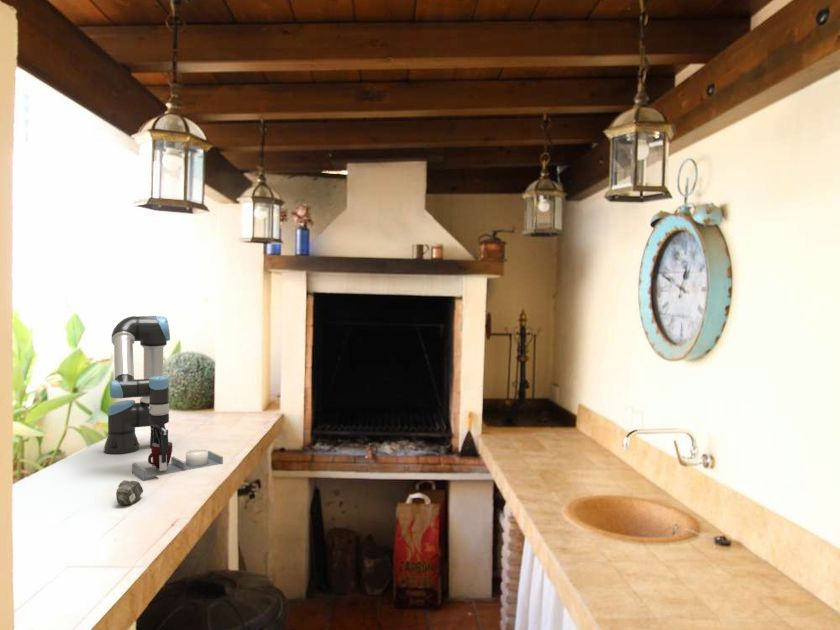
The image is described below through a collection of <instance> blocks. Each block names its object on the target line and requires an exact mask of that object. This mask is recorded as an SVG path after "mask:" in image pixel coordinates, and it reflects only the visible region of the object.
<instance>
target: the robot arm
mask: <svg viewBox="0 0 840 630" xmlns="http://www.w3.org/2000/svg"><path fill="white" fill-rule="evenodd" d="M170 340H171V333H170V326H169V321H168V318H167V317H165V316H160V315H159V316H158V315H149V316H148V315H147V316H145V315H143V316H141V315H140V316H139V315H137V316H134V315H133V316H128V317H125V318H124V319H122V320H121V321H119V322H118V323H117V324H116V325H115V327H113V330H112V333H111V343H112V344H113V346H114V348H113V350H114V351H113V353H114V355H113V358H114V380H110V382H109V397H110V398H111V399H126V400H120V401H115V402H113V403H110V404H109V406H108V408H107V424H108V425H107V438H106V440H105V443H104V446H103V452H104V453H105V454H109V455H123V454H129V453H133V452H136V451H138V450H140V443H139V440H138V437H137V435H136V428H144V427H150V437H149V438H150V439H149V449H151V447H152V444H153V443H156V444H159V448H160V454H159V471H163V470H167V454H169V444H168V442H169V429H166V424H168V423H169V422H170V415H169V414H170V394H169V393H170V392H169V391H170V382H169V377H168V376H164V347H166V346H167V344H168V343H167V342H170ZM135 342H140V344H139V345H140V346H141V347H142V349H143V378H141V379H135V371H134V346H133V345H134V343H135ZM130 398H140V399H139V402H136V400H134V399H130ZM151 462H152V463H153V458H151ZM151 467H155V465H154V464H151Z"/></svg>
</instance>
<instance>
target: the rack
mask: <svg viewBox="0 0 840 630" xmlns="http://www.w3.org/2000/svg"><path fill="white" fill-rule="evenodd" d="M207 451H208V464H206V465H203V466H187V465H186V460H185V461H183V460H181V459H179V458H177V457H176V456H171V458H170V462H171V463H169V464H168V466H167V470H163V471H159V469H157V468H156V466H154V467H152V466H150V467H146V468H145V467H143V466H141V465H139V464H137V463H136V462H132V463H131V464H132V465H131V466H132V471H131V472H132V474H133V475H134V476H136V477H137V478H139V479H140V480H142V481H144V482H146V481H150V480H151V481H152V480H156V479H159V477H158V476H163V475H167V474H173V473H174V474H175V473H179V472H183V471H184V472H185V471H190V470H195V469H201V468H205V467H212V466H218V465H223V463H224V456H223V455H220V454H218V453H216V452H213V451H212V450H207Z"/></svg>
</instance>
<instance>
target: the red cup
mask: <svg viewBox="0 0 840 630" xmlns="http://www.w3.org/2000/svg"><path fill="white" fill-rule="evenodd" d="M168 444H169V454H167V466H168V464H170V462H171V457H172V453H173V443H172V442H171V441H168ZM150 449H151V453H149V454H148V457H147V462H148V464H150V465H152V464H154V465H155V466H156V468H157V469H159V454H160V448H159V444H156V443H153V444H152V447H151V448H150ZM152 458H153V463H152ZM155 466H154V467H155Z"/></svg>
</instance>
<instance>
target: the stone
mask: <svg viewBox="0 0 840 630" xmlns="http://www.w3.org/2000/svg"><path fill="white" fill-rule="evenodd" d="M143 493H144V489H143V486H142V485H141V483H140V482H139V481H135V480H122V481H121V482H119V485H118V487H117V489H116V492H115V496H116V500H117V503H118V505H119V506H121V507H123V506H127V505H131V504H133V503H135V502H136V501H137V500H138V499H139V498H140V497H141V496H142V494H143Z"/></svg>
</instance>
